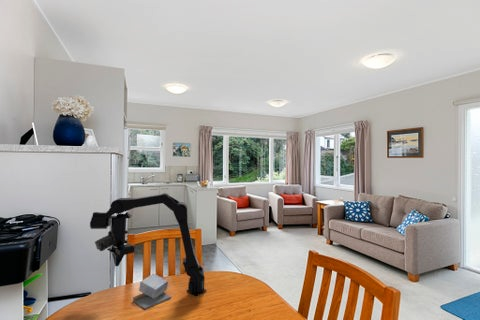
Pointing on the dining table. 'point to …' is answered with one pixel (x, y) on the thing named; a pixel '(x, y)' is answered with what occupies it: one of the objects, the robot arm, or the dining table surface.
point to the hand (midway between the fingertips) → (116, 266)
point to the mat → (149, 300)
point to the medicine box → (153, 286)
